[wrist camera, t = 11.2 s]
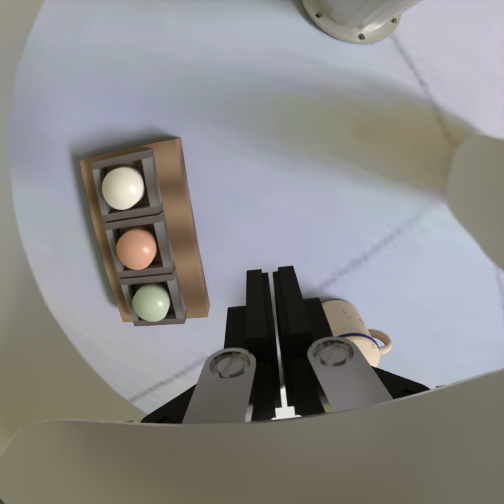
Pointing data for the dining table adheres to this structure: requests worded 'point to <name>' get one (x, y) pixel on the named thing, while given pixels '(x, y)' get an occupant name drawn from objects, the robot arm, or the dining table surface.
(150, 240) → the terracotta button
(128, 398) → the dining table surface
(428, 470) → the robot arm
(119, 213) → the button console
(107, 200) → the cream button
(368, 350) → the teacup with lid
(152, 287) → the sage button
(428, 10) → the dining table surface
